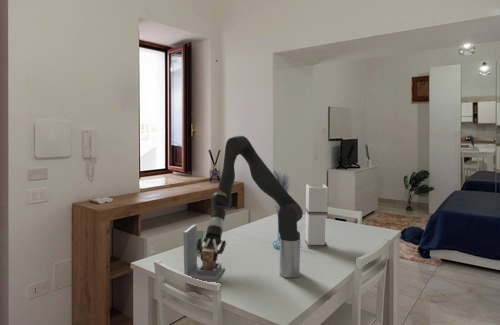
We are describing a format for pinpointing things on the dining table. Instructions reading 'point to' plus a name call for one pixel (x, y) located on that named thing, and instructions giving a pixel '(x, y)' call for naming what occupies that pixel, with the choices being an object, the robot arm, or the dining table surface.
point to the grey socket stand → (191, 258)
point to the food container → (198, 236)
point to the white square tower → (316, 216)
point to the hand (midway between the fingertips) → (208, 260)
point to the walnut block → (208, 259)
